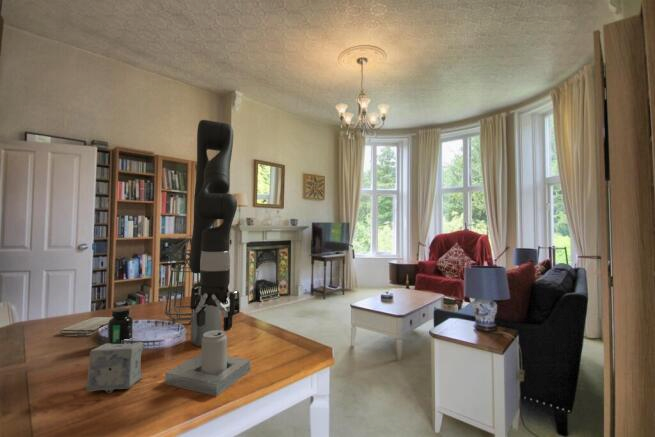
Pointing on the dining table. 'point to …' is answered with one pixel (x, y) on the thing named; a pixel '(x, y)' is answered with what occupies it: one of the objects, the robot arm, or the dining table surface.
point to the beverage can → (214, 352)
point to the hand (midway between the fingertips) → (214, 327)
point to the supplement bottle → (120, 326)
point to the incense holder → (114, 366)
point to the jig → (207, 375)
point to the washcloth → (86, 326)
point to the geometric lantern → (178, 278)
